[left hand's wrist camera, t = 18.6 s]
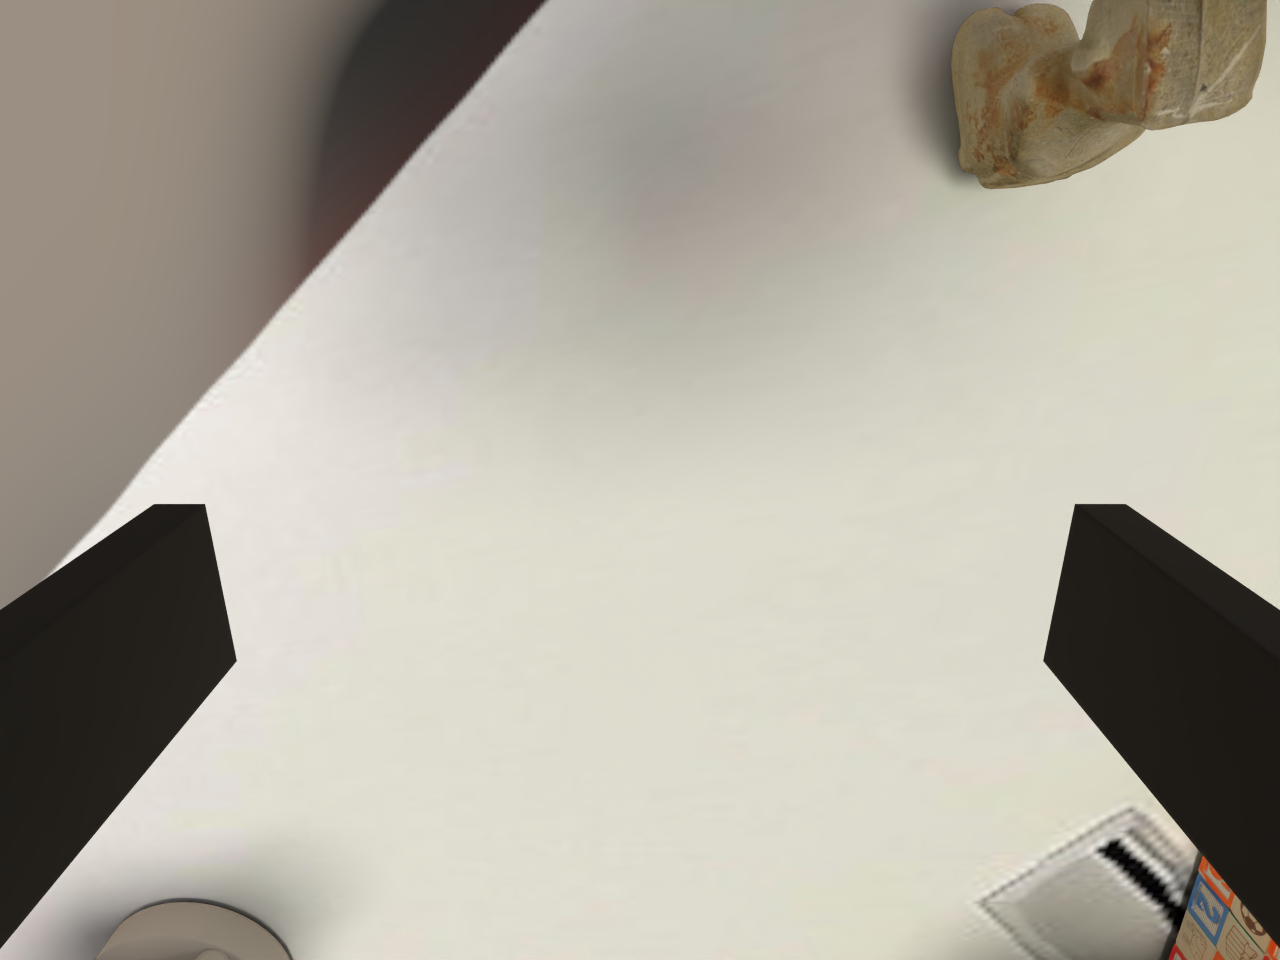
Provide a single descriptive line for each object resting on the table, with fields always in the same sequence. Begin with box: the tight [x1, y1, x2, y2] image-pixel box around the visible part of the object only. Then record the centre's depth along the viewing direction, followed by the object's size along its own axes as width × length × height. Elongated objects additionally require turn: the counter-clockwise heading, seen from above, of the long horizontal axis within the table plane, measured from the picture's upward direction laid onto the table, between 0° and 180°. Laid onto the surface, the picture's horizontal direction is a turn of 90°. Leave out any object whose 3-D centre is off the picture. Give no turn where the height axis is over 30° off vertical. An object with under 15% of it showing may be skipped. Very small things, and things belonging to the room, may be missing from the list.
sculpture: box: [951, 0, 1267, 189], centre depth 30 cm, size 6×7×15 cm
